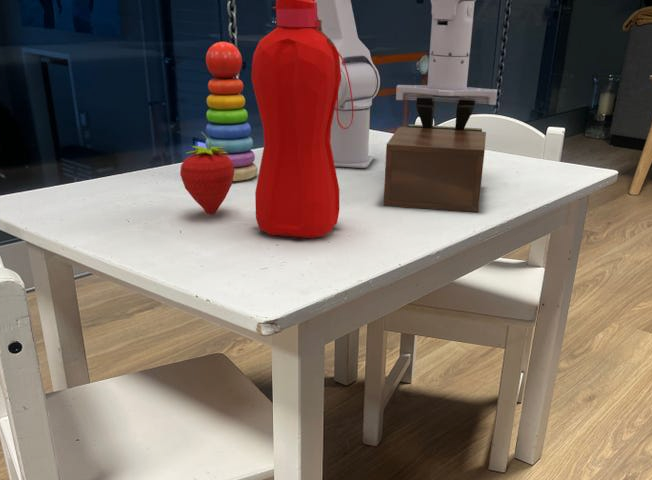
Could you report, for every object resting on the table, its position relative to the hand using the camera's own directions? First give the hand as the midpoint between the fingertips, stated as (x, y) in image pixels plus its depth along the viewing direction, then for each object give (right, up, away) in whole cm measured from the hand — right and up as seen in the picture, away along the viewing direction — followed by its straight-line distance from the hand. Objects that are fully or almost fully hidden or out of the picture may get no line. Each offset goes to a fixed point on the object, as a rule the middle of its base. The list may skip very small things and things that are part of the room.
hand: (441, 152), depth 109 cm
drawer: (0, -2, +2) cm, 3 cm away
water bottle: (-19, -16, -22) cm, 34 cm away
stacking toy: (-32, -4, 0) cm, 32 cm away
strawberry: (-31, -13, -18) cm, 39 cm away
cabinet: (-2, -8, -7) cm, 11 cm away
